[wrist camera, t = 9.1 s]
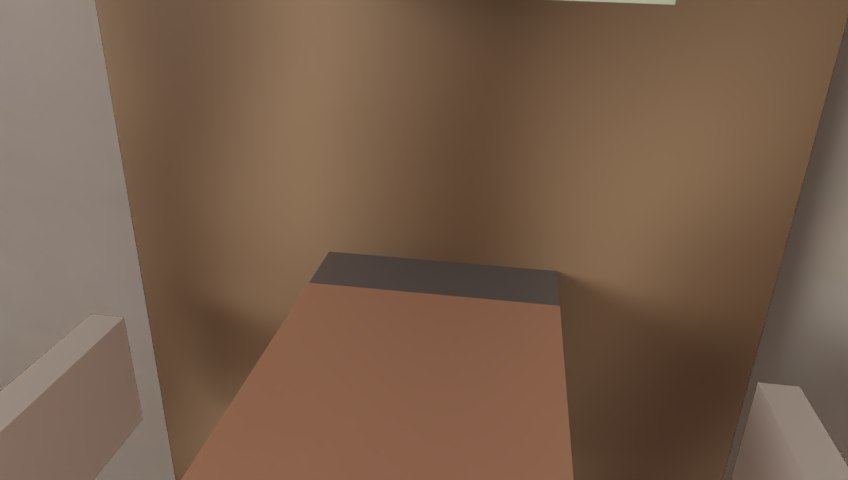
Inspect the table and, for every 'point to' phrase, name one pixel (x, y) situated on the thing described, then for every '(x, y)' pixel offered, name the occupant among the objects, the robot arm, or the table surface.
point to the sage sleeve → (633, 1)
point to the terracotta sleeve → (404, 379)
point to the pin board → (477, 184)
